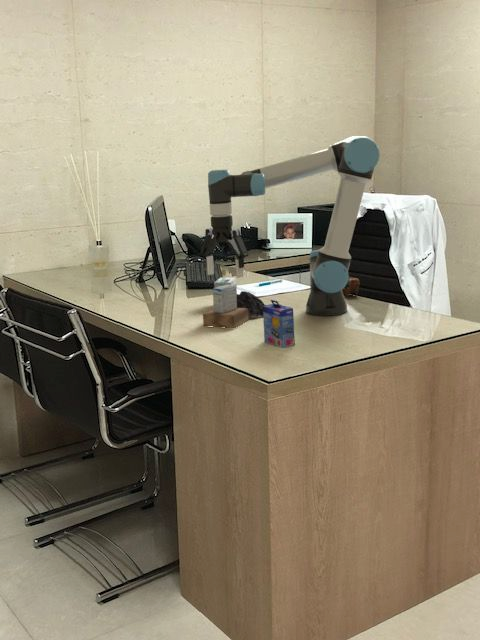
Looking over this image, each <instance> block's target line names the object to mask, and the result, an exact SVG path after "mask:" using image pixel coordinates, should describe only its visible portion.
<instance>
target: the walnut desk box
mask: <svg viewBox="0 0 480 640" xmlns="http://www.w3.org/2000/svg"><path fill="white" fill-rule="evenodd" d="M247 321H248V322H249V318H248V309H246V308H237V309H235V310H231V311H228V312H225V313H217V312H214V308H212V309H211V310H208V311H206V312H204V313H203V314H202V324H203V327H204V326H213V327H225V328H224V329H226V328H235V329H237V328H239V327H241V326H242V325H244V324H245V322H246V323H248V322H247ZM243 323H244V324H243ZM240 325H241V326H240ZM238 326H239V327H238ZM213 327H212V328H213ZM236 327H237V328H236Z"/></svg>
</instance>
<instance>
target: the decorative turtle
mask: <svg viewBox="0 0 480 640" xmlns="http://www.w3.org/2000/svg"><path fill="white" fill-rule="evenodd" d="M348 277H349V278H348V282H347V284H346V285H345V287H344V288H343V289H342V292H343V295H344V298H348V297H349V296H350V294H352V295H353V296H357V295H358V293H359V289H360V285H361V282H360V279H359V278H358V277H357V278H356V277H352V276H348Z"/></svg>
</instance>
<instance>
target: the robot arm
mask: <svg viewBox="0 0 480 640" xmlns="http://www.w3.org/2000/svg"><path fill="white" fill-rule="evenodd" d="M379 160H380V150H379V146H378V144H377V142H375V141H374V140H373V139H372V138H370V137H368V136H365V135H364V136H363V135H354V136H350V137H348V138H345V139H344V140H341V141H339V142H336V143H334V144H330V145H328V147H327V148H326V149H323V150H319V151H315V152H311V153H309V154H306V155H301V156H298V157H295V158H292V159H288V160H285V161H284V160H283V161H280V162H278V163H273V164H269V165H267V166H263V167H261V168H255V169H253V170H246V171H243V172H242V173H241V174H231V173H230V170H229V169H214V170H210V171H209V172H208V173H207V187H208V199H209V215H210V216H211V217H210V226H211V227H209V228H206V229H205V232H204V233H205V234H204V239H203V241H202V245H201V248H200V255H203V256H204V258H205V259H204V260H205V265H206V270H207V276H212V275H214V274H215V266H214V265H215V264H214V263H215V262H214V255H213V252H214V251H215V249H216V247H217V245H218V244H219V243H222V244H223V243H226V245H228V247H229V248H230V249H231V250H232V252H233V254H234V255H235V257H236V259H235V270H236V271H235V272H236V279H240V278H243V277H244V268H245V258H246V257H249V252H248V250H247V247H246V246H245V243H244V240H243V239H242V235H241V232H240V229H238V228H237V229H232V227H233V215H231V214H232V213H233V210H232V209H233V208H232V198H239V197H240V198H241V197H258V196H264V195H265V194H266V189H269V188H272V187H276V186H280V185H283V184H287V183H292V182H293V181H298V180H302V179H305V178H308V177H309V178H310V177H312V176H315V175H319V174H324V173H326V172H331V171H334V172H337V174H338V175H339V177H340V181H339V185H338V188H337V194H336V197H335V202H334V206H333V209H332V210H333V211H332V213H331V218H330V222H329V226H328V229H327V234H326V238H325V243H324V245H323V247H321V248H319V249H318V250H317V249H316V250H311V251H310V253H309V258H308V259H309V272H310V273H309V277H310V278H309V281H310V283H309V284H310V291H309V295H308V298H307V302H306V305H305V312H306V313H307V314H310V315H314V316H336V315H337V316H338V315H342V314H345V313H347V312H348V304H347V302H346V297H345V296H344V295H343V292H342V289H343V288H344V287H345V285H346V284H347V282H348V278H349V277H348V276H349V275H350V274H349V268H350V266H351V265H350V264H351V261H352V256H351V254H350V252H349V250H350V248H351V247H350V246H351V243H352V239H353V235H354V231H355V227H356V223H357V220H358V219H357V218H358V216H359V211H360V207H361V204H362V199H363V195H364V192H365V187H366V184H367V183H369V182H371V181H372V178H373V174H374V170H375V167H376V166H377V165H378V162H379Z"/></svg>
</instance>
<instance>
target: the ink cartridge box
mask: <svg viewBox="0 0 480 640" xmlns="http://www.w3.org/2000/svg"><path fill="white" fill-rule="evenodd" d="M270 302H271V304H270V303H269V304H265V305H264V306H263V317H262V318H263V334H264V335H263V338H264V339H263V340H264V342H265V343H267V344H270V345H273V346H276V347H279V348H280V349H283V348H287V347H290V346H295V345H296V342H295V341H296V339H295V338H296V337H295V322H294V321H295V320H294V308H293V307H291V306H287V305H282V304H280V302H279V301H277V300H274V299H270Z"/></svg>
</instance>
